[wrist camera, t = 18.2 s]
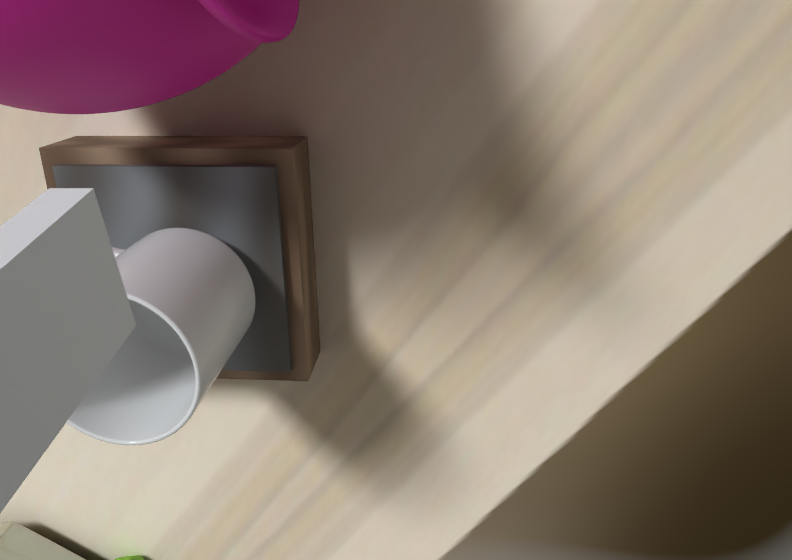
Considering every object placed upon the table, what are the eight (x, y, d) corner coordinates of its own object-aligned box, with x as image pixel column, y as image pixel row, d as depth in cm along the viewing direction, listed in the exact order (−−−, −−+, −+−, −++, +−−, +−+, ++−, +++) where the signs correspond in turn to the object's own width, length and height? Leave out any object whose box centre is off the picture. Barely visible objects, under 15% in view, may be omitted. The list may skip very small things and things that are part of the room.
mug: (286, 274, 43) (232, 358, 32) (219, 371, 46) (149, 474, 35) (122, 164, 41) (9, 214, 30) (63, 271, 44) (-57, 350, 34)
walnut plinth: (307, 136, 44) (289, 150, 40) (320, 351, 50) (306, 385, 46) (76, 136, 46) (33, 149, 41) (115, 345, 51) (81, 378, 47)
